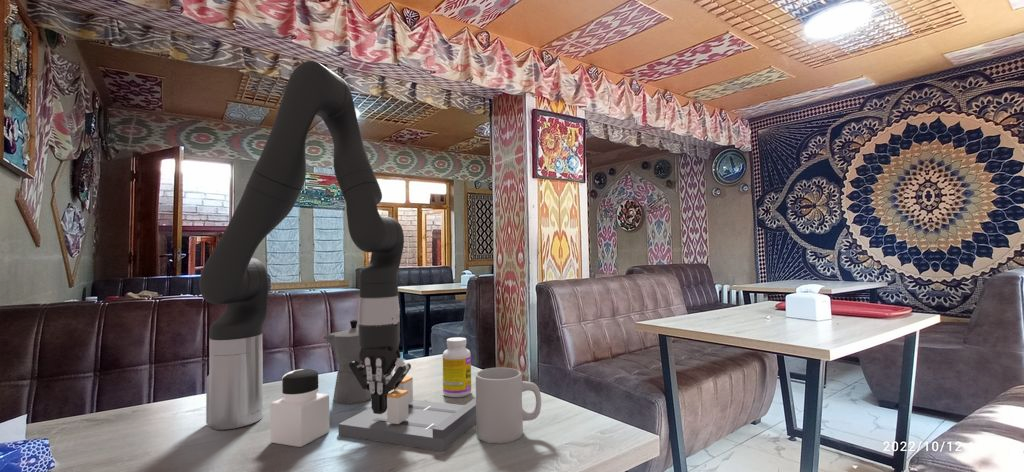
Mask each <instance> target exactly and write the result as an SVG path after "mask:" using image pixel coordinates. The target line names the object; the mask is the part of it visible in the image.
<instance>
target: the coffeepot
mask: <svg viewBox="0 0 1024 472" xmlns="http://www.w3.org/2000/svg"><path fill="white" fill-rule="evenodd" d="M349 323H350V328H348V329H345V330H341V331H337V332H332V333H329V334H326V335H324V337H323V339H325V340H327V342H328V343H329V345H330V346H331V347H332V349H333V351H334V353H335V357H336V362H337V364H338V371H337V373H336V380H335V386H334V392H333V400H334V402H335V403H337V404H340V405H351V404H353V405H354V404H359V403H364V402H368V401H370V400H371V393H370V391H369V390H367V389H363V388H362V387H361V385H360V383H359V382H358V380H357V378H356V377H355V375H354V373H353V372H352V370H351V368H350V367H349V363H350V362H353V361H355V360H356V359H357V358H358V357H359V352H360V350H361V347H360V346H359V328H358V326H357V325H358V320H356V319H351V320H350V321H349ZM365 380H366V379H365Z"/></svg>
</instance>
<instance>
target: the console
mask: <svg viewBox="0 0 1024 472" xmlns="http://www.w3.org/2000/svg"><path fill="white" fill-rule="evenodd" d="M474 425H476V398H472V399H471V400H470V401H468V402H467V403H466V404H455V403H447V402H438V401H430V400H429V401H427V400H420V399H413V402H412V403H410V404H408V419H406V420H404V421H403V422H401V423H400V424H393V423H387V410H386V412H384V413H382V414H375V413H373V410H372V407H371V406H370V407H369V408H367V409H365V410H363V411H360V412H359V413H357V414H355V415H353V416H351V417H349V418H347V419H345V420H344V421H341V422H340V423H338V426H337V427H338V436H344V437H350V438H356V439H360V440H361V439H362V440H368V441H375V442H381V443H387V444H388V443H389V444H394V445H395V444H396V445H400V446H401V445H402V446H406V447H412V448H413V447H414V448H421V449H424V450H425V449H427V450H431V451H432V450H434V451H437V452H438V451H440V452H444V451H446V450H447V449H448V448H449V447H450V446H451V445H453V444H454V443H455V442H456V441H457V440H458V439H460V438H461V437H462V436H463V435H464V434H466V433H467V431H468V430H470V429H471V428H473V426H474Z"/></svg>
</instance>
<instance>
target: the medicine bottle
mask: <svg viewBox="0 0 1024 472" xmlns="http://www.w3.org/2000/svg"><path fill="white" fill-rule="evenodd" d="M281 397H282V398H280V399H277V400H274V401H272V402H270V405H269V407H270V409H269V410H270V411H269V412H270V413H269V415H270V416H269V417H270V423H269V425H270V427H269V428H270V431H269V432H270V434H269V435H270V436H269V437H270V438H269V439H270V443H271V444H278V445H284V446H290V447H291V446H292V447H297V448H298V447H299V448H302V447H304V446H306V445H307V444H309V443H311V442H313V441H315V440H317V439H319V438H320V437H323V436H325V435H327V434H328V433H329V432H330V394H328V393H321V392H320V393H319V372H318V371H317V370H314V369H310V368H303V369H295V370H291V371H288V372H287V373H285V374H284V375H283V376H282V377H281Z"/></svg>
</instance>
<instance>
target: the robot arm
mask: <svg viewBox="0 0 1024 472" xmlns="http://www.w3.org/2000/svg"><path fill="white" fill-rule="evenodd" d="M316 116H317V117H319V118H321V119H322V121H323V122H324V124H325V126H326V128H327V130H328V132H329V134H330V135H331V139H332V143H333V161H332V162H333V170H334V174H335V178H336V180H337V184H338V187H339V189H340V191H341V194H342V196H343V199H344V202H345V207H346V218H347V227H348V232H349V236H350V238H351V240H352V242H353V244H354V245H355V246H356V247H357V248H358V249H359V250H360V251H362V252H364V253H371V255H370V261H369V263H368V265H365V267H363V268H361V270H360V272H359V302H358V312H357V313H358V320H357V325H358V326H357V328H359V346H360V347H361V350H360V352H359V357H358V358H357V359H356V360H355V361H353V362H350V363H349V367H350V368H351V370H352V372H353V373H354V375H355V377H356V378H357V380H358V382H359V383H360V385H361V387H362V388H363V389H367V390H369V391H370V393H371V399H370V401H371V406H370V408H371V407H372V410H373V413H375V414H382V413H384V412H386V410H387V394H389V393H391V392H392V391H394V389H396V388H397V387H398V386H399V384H400V383H401V381H402V380H403V379H404V377H407V374H408V372H409V371H410V370H411V369H412V364H411V363H409V362H405V361H404V360H403V359H402V358H401V357H402V356H401V351H400V350H399V346H400V342H401V338H400V337H401V336H400V333H401V328H400V327H401V325H400V324H401V323H400V322H401V321H400V303H399V285H398V284H399V281H398V280H399V278H398V277H399V276H398V272H399V269H400V265H401V261H402V256H403V252H404V245H405V235H404V234H405V233H404V230H403V228H402V225H401V223H400V222H399V221H398V220H397V219H395V218H394V217H390V216H385V215H384V216H382V215H380V213H379V210H378V209H379V208H378V205H379V204H380V203H381V201H382V198H383V194H382V190H381V187H380V184H379V182H378V180H377V176H376V174H375V171H374V170H373V167H372V164H371V162H370V159H369V157H368V154H367V152H366V148H365V145H364V142H363V138H362V134H361V128H360V127H359V126H360V125H359V121H358V118H357V113H356V107H355V103H354V97H353V94H352V91H351V88H350V86H349V84H348V82H346V80H345V79H343V78H342V77H341V76H339V75H338V74H337V73H335V72H333V71H332V70H331V69H329V68H328V67H326V66H325V65H323V64H321V63H320V62H318V61H315V60H307V61H303V62H301V63H300V64H299V65H298V66H296V68H295V69H294V70H293V72H292V73H291V75H290V76H289V78H288V80H287V84H286V86H285V89H284V92H283V95H282V99H281V102H280V105H279V108H278V110H277V114H276V116H275V120H274V123H273V125H272V127H271V129H270V133H269V135H268V137H267V139H266V142H265V145H264V147H263V149H262V151H261V154H260V156H259V158H258V160H257V162H256V164H255V165H254V168H253V170H252V172H251V174H250V176H249V179H248V181H247V183H246V186H245V188H244V191H243V193H242V195H241V197H240V200H239V202H238V204H237V206H236V208H235V210H234V212H233V214H232V216H231V218H230V221H229V223H228V225H227V227H226V229H225V230H224V232H223V234H222V236H221V237H220V239H219V241H218V242H217V244H216V245H215V247H214V249H213V250H212V252H211V254H210V256H209V257H208V258H207V260H206V262H205V263H204V266H203V268H202V269H201V273H200V276H199V280H198V281H199V282H198V283H199V285H198V287H199V291H200V294H201V296H202V297H203V299H204V300H205V301H207V303H210V304H214V305H226V309H225V311H224V312H223V314H222V315H221V316H219V318H218V319H216V320H215V321H214V322H212V323H211V324H210V326H209V331H208V332H209V333H208V335H209V336H208V337H209V338H208V339H209V343H208V345H209V347H208V348H209V349H208V350H209V351H208V352H209V353H208V354H209V361H208V362H209V364H208V365H209V366H208V367H209V368H208V369H209V374H208V375H207V376H206V379H205V381H206V382H205V383H206V386H205V388H206V391H205V392H206V395H205V396H206V398H205V400H206V407H205V409H206V411H205V413H206V414H205V416H206V417H205V424H206V425H207V424H208V427H209V428H210V429H213V430H220V431H221V430H232V429H237V428H238V429H239V428H242V427H245V426H249V425H252V424H254V423H257V422H258V421H260V420H261V419H262V418H263V413H264V411H263V406H264V405H263V399H264V398H263V392H264V391H263V388H264V387H263V384H264V383H263V379H264V378H263V377H264V376H263V369H264V368H263V365H264V364H263V363H264V362H263V358H264V357H263V356H264V353H263V350H264V349H263V331H264V329H263V327H264V324H265V322H266V319H267V314H268V303H269V302H268V301H269V275H268V271H267V269H266V267H265V265H264V264H263V262H262V261H261V260H259V259H257V258H256V257H253V256H254V254H255V251H256V250H257V248H258V246H259V245H260V244H261V243H262V241H263V240H264V239H265V238H266V237H267V236H268V235H269V234H270V233H271V232H273V230H274V229H276V228H277V227H278V225H280V224H281V223H282V222H283V220H284V219H286V218H287V216H288V215H289V214H290V212H291V211H292V210H293V208H294V206H295V205H296V202H297V200H298V198H299V196H300V194H301V191H302V190H303V187H304V185H305V180H306V176H307V175H306V174H307V162H306V161H307V160H306V143H307V141H306V140H307V137H308V133H309V130H310V128H311V126H312V124H313V121H314V119H315V117H316ZM393 372H394V373H393ZM365 379H366V380H365Z"/></svg>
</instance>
